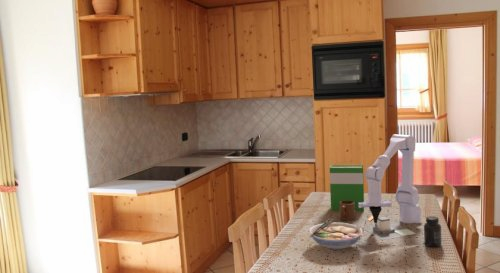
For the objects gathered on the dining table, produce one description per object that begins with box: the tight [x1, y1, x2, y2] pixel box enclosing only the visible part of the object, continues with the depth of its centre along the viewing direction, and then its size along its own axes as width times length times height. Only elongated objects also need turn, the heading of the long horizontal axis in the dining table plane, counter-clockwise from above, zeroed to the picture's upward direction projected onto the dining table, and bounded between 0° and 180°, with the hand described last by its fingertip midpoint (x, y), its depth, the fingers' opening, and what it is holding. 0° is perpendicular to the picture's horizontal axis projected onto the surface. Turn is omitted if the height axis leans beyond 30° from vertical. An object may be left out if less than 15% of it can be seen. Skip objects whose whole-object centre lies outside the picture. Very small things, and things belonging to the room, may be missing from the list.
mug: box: [339, 201, 356, 223], centre depth 228 cm, size 12×8×9 cm, turn 149°
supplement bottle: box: [423, 215, 443, 248], centre depth 190 cm, size 7×7×12 cm
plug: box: [377, 216, 391, 231], centre depth 209 cm, size 4×4×6 cm
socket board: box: [362, 215, 417, 241], centre depth 209 cm, size 18×18×7 cm
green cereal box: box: [329, 164, 365, 212], centre depth 249 cm, size 18×7×24 cm, turn 74°
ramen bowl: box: [308, 218, 364, 251], centre depth 194 cm, size 25×23×8 cm
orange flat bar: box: [367, 214, 374, 223], centre depth 210 cm, size 3×13×1 cm, turn 149°
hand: (375, 222), depth 206 cm, fingers closed
